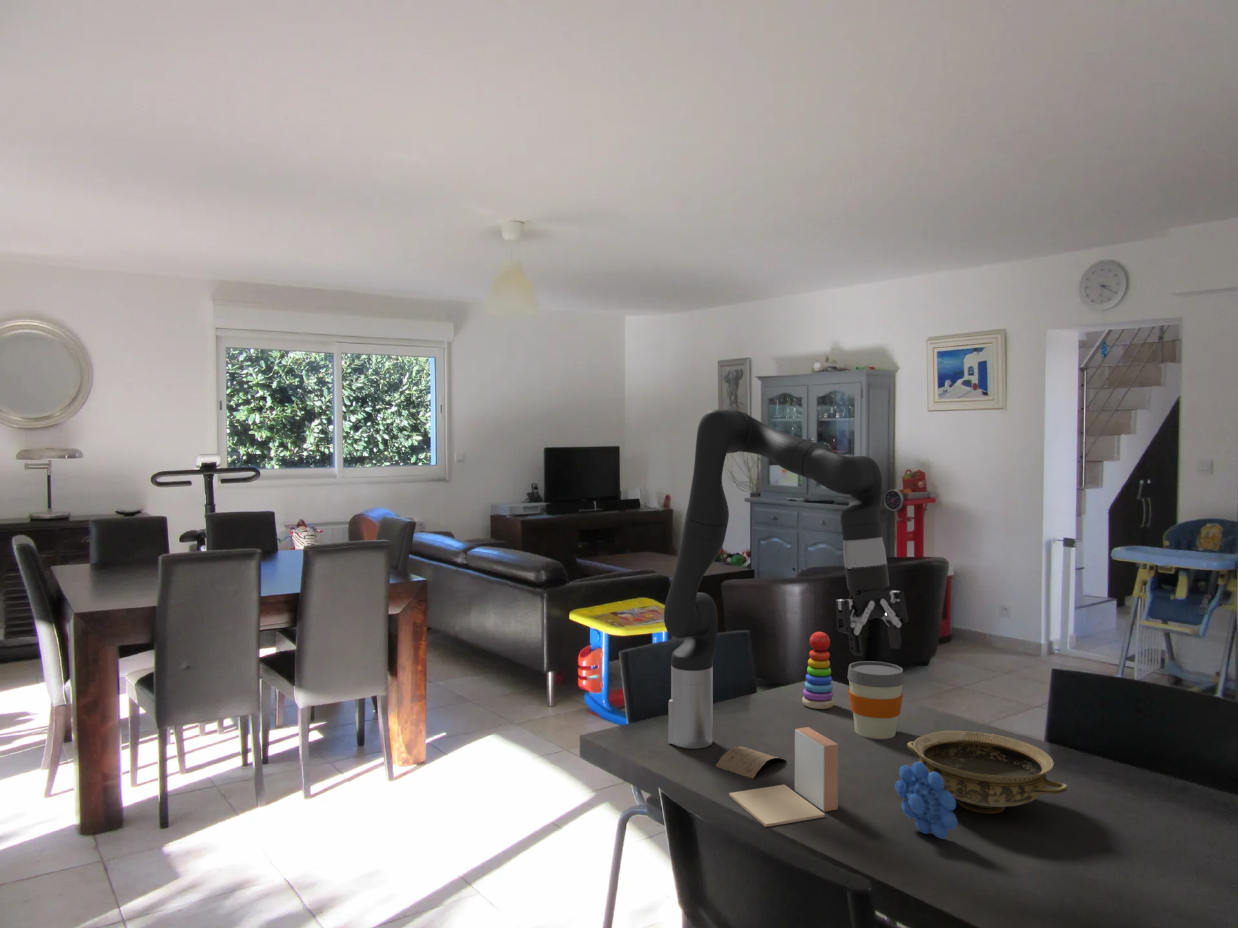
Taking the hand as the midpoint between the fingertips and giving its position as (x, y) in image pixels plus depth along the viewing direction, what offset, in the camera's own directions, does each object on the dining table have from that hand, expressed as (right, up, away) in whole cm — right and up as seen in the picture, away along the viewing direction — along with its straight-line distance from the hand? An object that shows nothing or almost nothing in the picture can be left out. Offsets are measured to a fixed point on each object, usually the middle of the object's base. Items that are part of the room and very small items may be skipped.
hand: (876, 651), depth 156 cm
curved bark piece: (-20, -29, +22) cm, 41 cm away
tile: (-10, -29, +4) cm, 31 cm away
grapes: (+4, -29, -11) cm, 31 cm away
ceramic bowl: (+20, -29, +2) cm, 35 cm away
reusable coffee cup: (+12, -28, +41) cm, 51 cm away
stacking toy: (+4, -27, +61) cm, 67 cm away
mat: (-18, -29, +1) cm, 34 cm away
